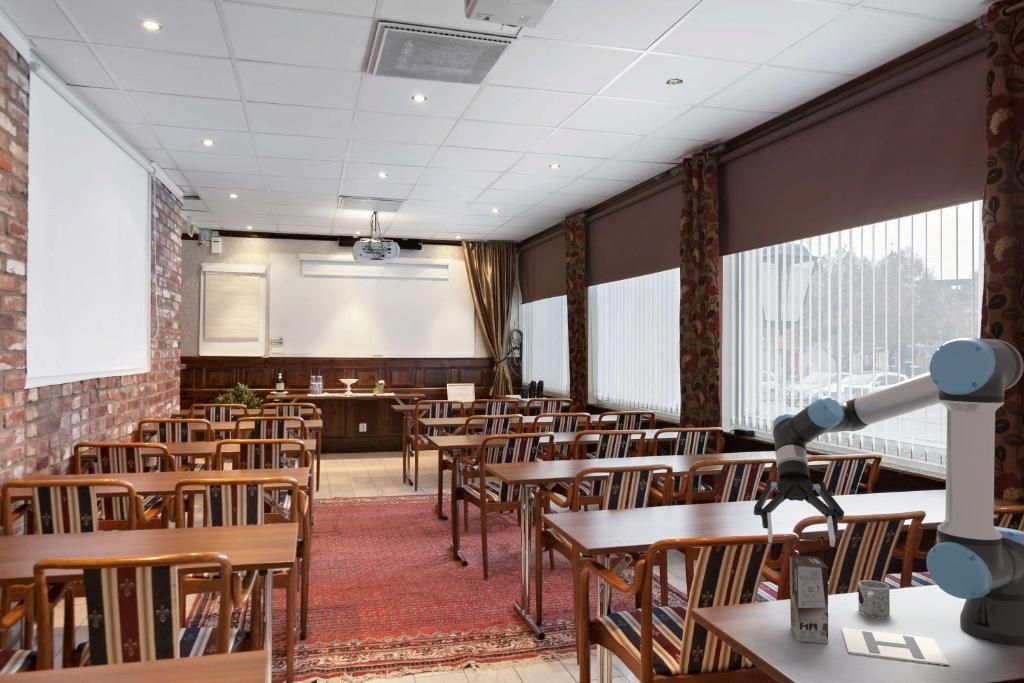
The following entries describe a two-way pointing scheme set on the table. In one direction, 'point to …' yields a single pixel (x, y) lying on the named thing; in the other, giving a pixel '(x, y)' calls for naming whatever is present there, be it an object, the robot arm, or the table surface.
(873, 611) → the mug
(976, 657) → the table surface
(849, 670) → the table surface
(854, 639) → the letter card
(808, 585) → the coffee box
